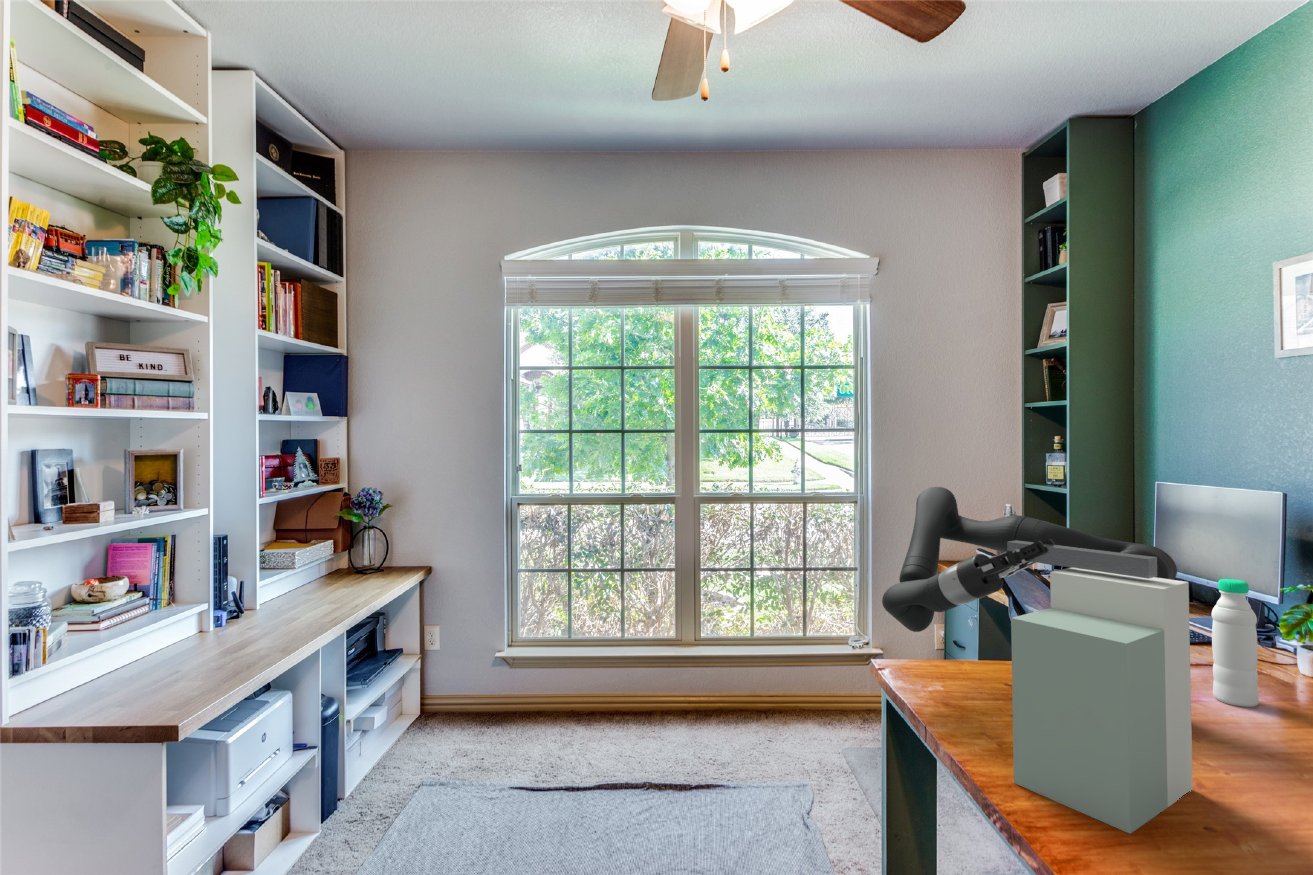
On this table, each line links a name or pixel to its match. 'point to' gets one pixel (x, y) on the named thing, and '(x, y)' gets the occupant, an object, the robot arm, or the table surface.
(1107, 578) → the stepped stand
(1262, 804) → the table surface
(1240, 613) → the water bottle
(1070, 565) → the steel bar
